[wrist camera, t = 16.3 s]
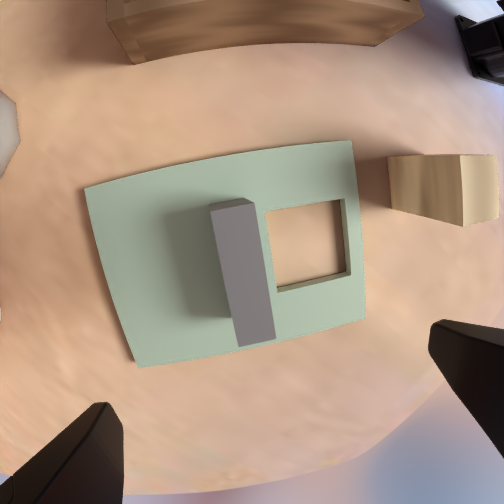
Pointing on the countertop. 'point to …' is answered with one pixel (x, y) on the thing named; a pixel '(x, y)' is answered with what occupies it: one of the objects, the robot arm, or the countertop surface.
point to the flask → (7, 131)
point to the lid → (223, 251)
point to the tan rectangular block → (446, 187)
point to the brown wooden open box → (252, 23)
